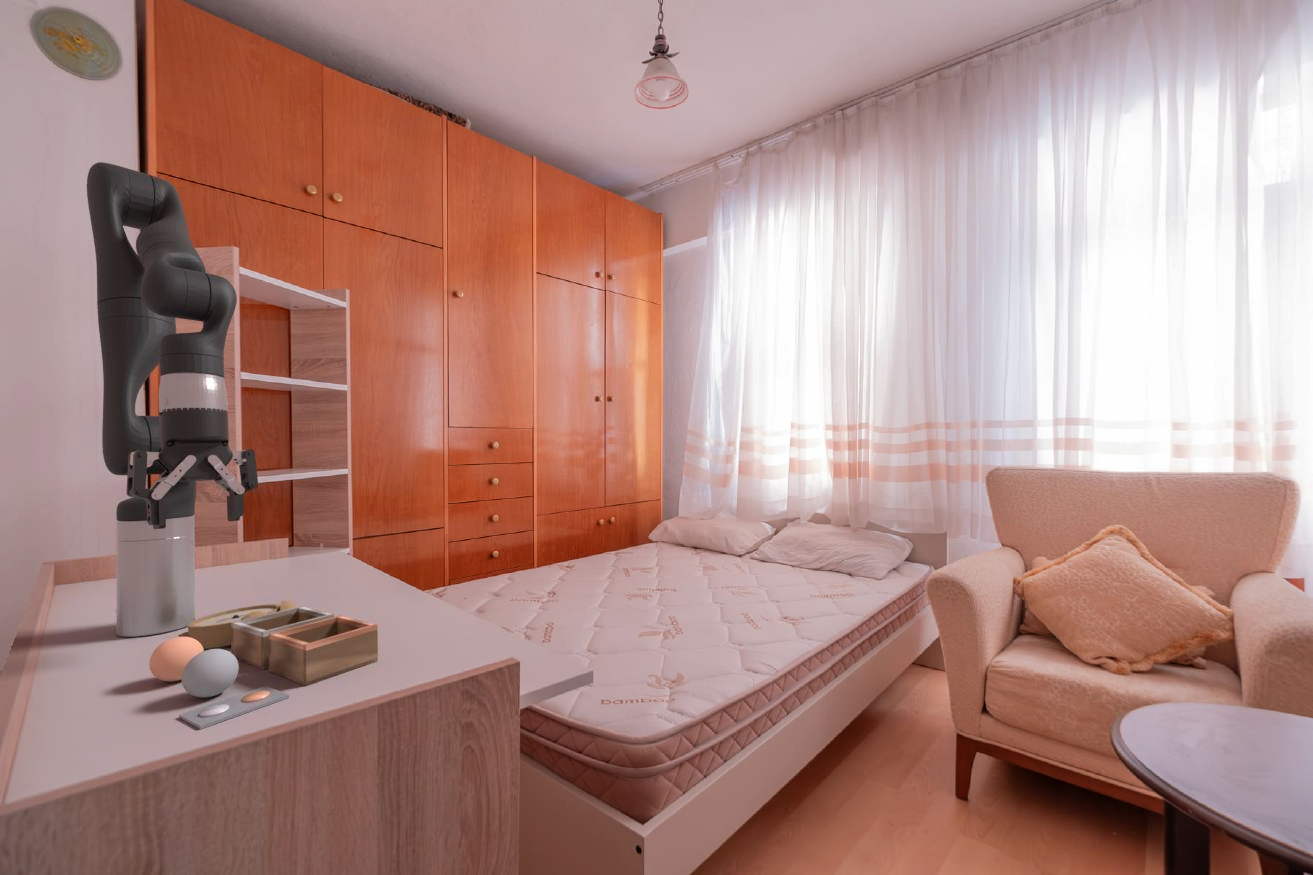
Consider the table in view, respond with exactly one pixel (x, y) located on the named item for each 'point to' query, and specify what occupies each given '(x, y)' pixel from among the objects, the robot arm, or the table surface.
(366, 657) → the terracotta-rimmed square box
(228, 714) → the card
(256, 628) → the grey-band box
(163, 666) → the terracotta ball
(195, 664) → the grey ball
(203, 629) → the alarm clock
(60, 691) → the table surface
